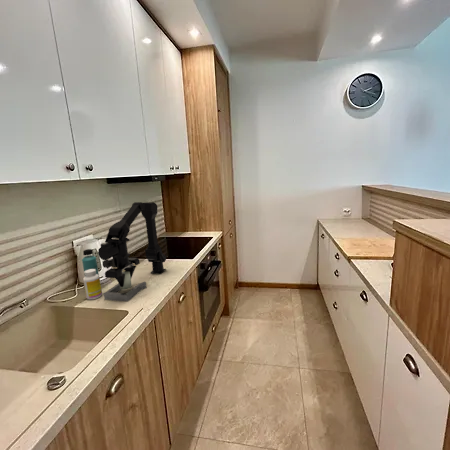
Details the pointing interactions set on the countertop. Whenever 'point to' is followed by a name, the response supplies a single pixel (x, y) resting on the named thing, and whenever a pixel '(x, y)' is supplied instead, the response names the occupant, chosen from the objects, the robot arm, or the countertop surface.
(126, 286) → the grey rounded piece
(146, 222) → the robot arm
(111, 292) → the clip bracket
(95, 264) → the beverage bottle
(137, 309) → the countertop surface
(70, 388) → the countertop surface
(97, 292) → the supplement bottle
